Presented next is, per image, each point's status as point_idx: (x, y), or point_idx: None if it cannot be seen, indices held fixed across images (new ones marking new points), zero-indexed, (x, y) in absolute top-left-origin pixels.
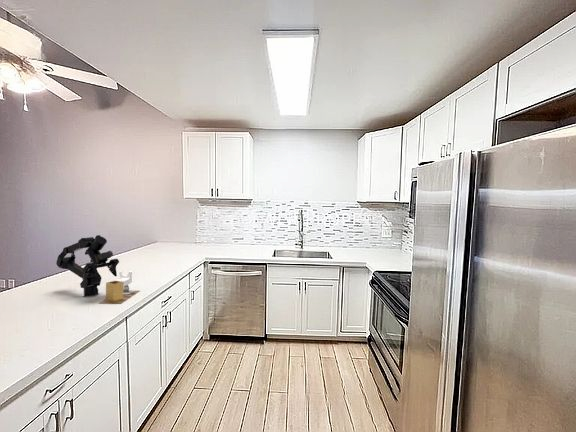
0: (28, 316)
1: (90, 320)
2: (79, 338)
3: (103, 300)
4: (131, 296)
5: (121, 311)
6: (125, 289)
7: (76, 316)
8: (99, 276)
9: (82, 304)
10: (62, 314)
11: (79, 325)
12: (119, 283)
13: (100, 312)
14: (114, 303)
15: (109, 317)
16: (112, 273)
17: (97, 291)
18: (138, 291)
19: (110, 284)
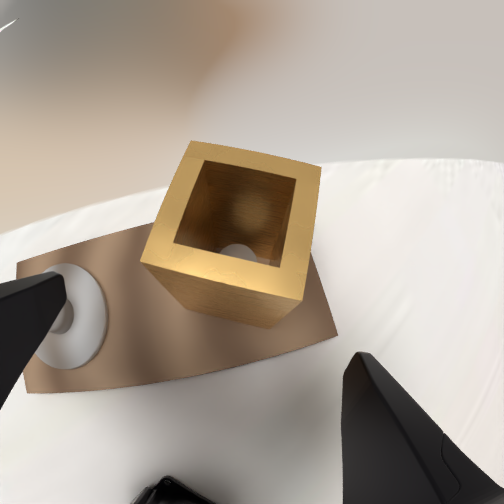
0: (493, 462)
1: (457, 214)
2: (499, 164)
3: (263, 357)
4: (123, 234)
5: (339, 163)
6: None
7: (464, 303)
8: (395, 383)
9: (327, 457)
10: (468, 384)
11: (487, 217)
12: (240, 153)
13: (395, 242)
14: None
15: (408, 169)
16: (18, 371)
17: (143, 500)
18: (29, 264)
19: (313, 216)
